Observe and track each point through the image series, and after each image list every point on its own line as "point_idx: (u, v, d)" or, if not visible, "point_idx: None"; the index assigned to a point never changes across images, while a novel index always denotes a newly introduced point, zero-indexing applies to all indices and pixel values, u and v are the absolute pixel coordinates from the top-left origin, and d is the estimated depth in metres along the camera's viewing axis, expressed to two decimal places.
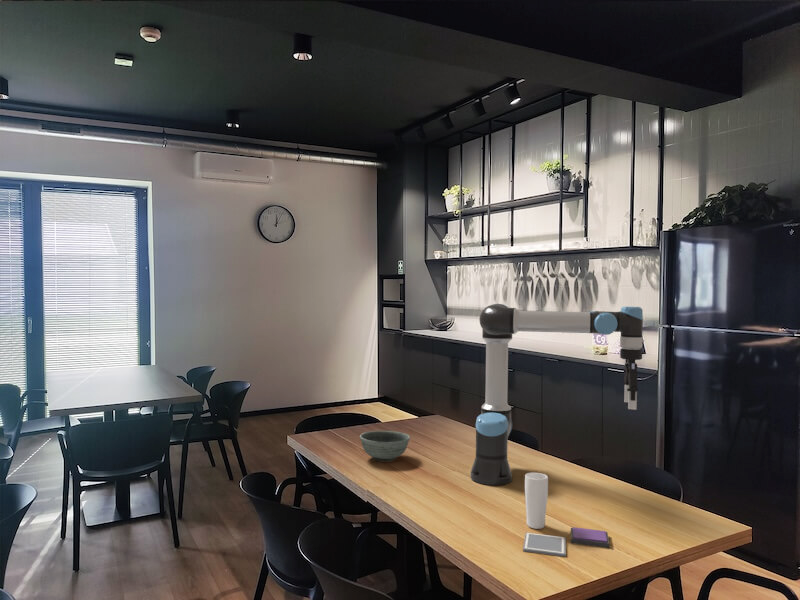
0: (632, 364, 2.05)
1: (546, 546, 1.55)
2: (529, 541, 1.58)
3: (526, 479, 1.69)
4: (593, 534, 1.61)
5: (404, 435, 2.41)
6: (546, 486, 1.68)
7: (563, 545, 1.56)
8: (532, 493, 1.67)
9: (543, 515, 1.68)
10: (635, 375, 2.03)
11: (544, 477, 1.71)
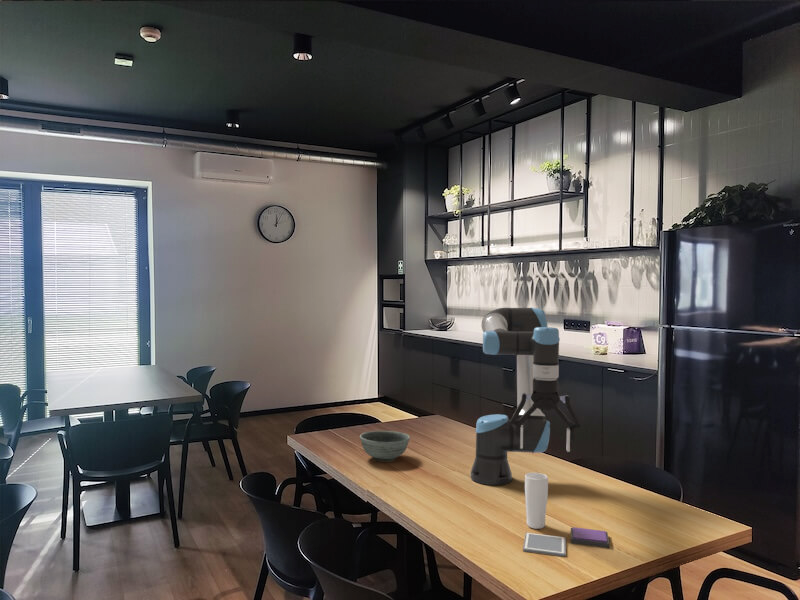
0: (522, 394, 1.74)
1: (546, 546, 1.55)
2: (529, 541, 1.58)
3: (526, 479, 1.69)
4: (593, 534, 1.61)
5: (404, 435, 2.41)
6: (546, 486, 1.68)
7: (563, 545, 1.56)
8: (532, 493, 1.67)
9: (543, 515, 1.68)
10: (518, 407, 1.73)
11: (544, 477, 1.71)
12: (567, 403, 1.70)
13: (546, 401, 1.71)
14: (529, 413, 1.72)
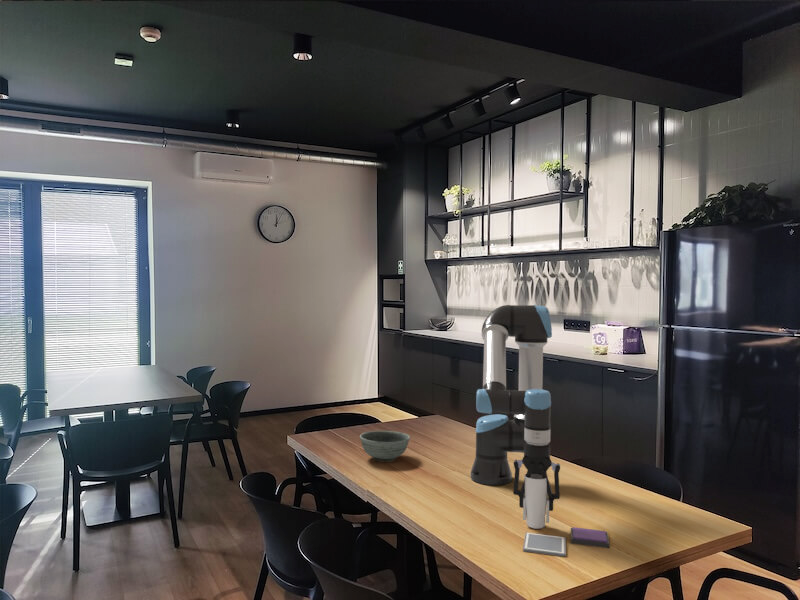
0: (514, 462, 1.72)
1: (546, 546, 1.55)
2: (529, 541, 1.58)
3: (525, 479, 1.69)
4: (593, 534, 1.61)
5: (404, 435, 2.41)
6: (545, 486, 1.68)
7: (563, 545, 1.56)
8: (532, 493, 1.67)
9: (543, 514, 1.68)
10: None
11: None
12: (556, 472, 1.67)
13: (537, 464, 1.69)
14: None
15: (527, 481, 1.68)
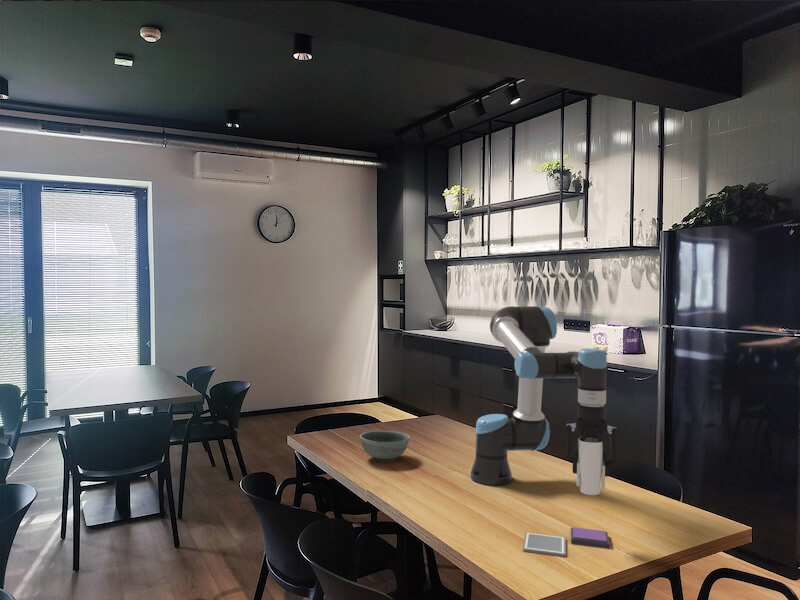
0: None
1: (546, 546, 1.55)
2: (529, 541, 1.58)
3: (580, 443, 1.60)
4: (593, 534, 1.61)
5: (404, 435, 2.41)
6: (601, 450, 1.58)
7: (563, 545, 1.56)
8: (587, 457, 1.58)
9: (599, 480, 1.59)
10: (567, 440, 1.62)
11: None
12: (612, 435, 1.58)
13: (592, 427, 1.60)
14: None
15: (582, 445, 1.59)
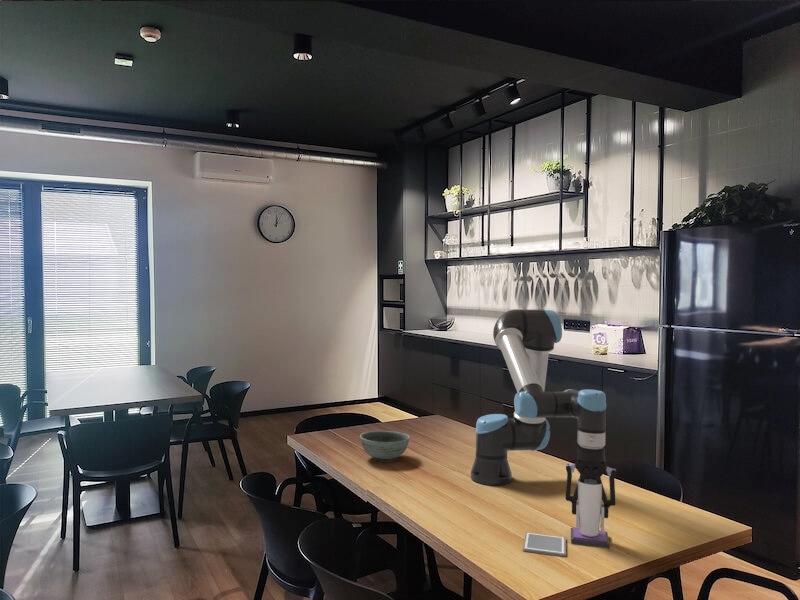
0: (566, 466, 1.63)
1: (546, 546, 1.55)
2: (529, 541, 1.58)
3: (579, 484, 1.60)
4: None
5: (404, 435, 2.41)
6: (601, 492, 1.59)
7: (563, 545, 1.56)
8: (586, 499, 1.58)
9: (598, 522, 1.59)
10: None
11: None
12: (612, 477, 1.58)
13: (591, 469, 1.60)
14: None
15: (581, 486, 1.59)
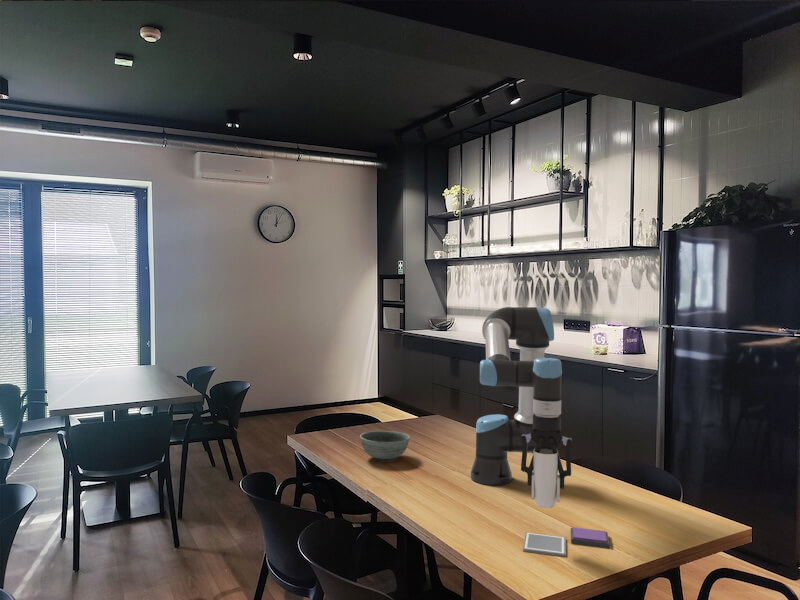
0: (521, 436, 1.59)
1: (546, 546, 1.55)
2: (529, 541, 1.58)
3: (534, 454, 1.56)
4: (593, 534, 1.61)
5: (404, 435, 2.41)
6: (556, 462, 1.54)
7: (563, 545, 1.56)
8: (541, 469, 1.54)
9: (553, 493, 1.55)
10: (522, 451, 1.58)
11: None
12: (567, 447, 1.54)
13: (547, 438, 1.56)
14: None
15: (536, 456, 1.55)
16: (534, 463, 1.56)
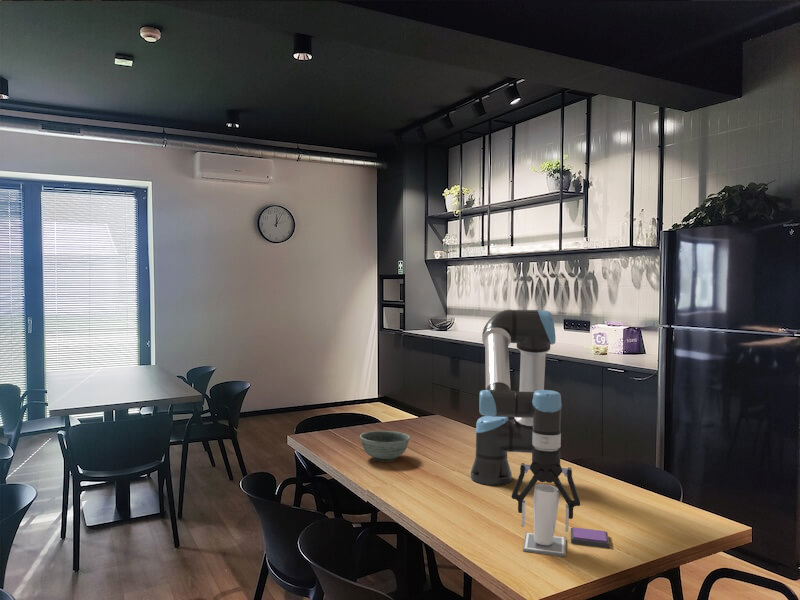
0: (521, 465, 1.59)
1: (546, 546, 1.55)
2: (529, 541, 1.58)
3: (535, 491, 1.57)
4: (593, 534, 1.61)
5: (404, 435, 2.41)
6: (557, 500, 1.55)
7: (563, 545, 1.56)
8: (541, 506, 1.55)
9: (552, 530, 1.55)
10: (517, 480, 1.58)
11: (555, 490, 1.59)
12: (569, 477, 1.54)
13: (546, 472, 1.56)
14: (530, 487, 1.57)
15: (537, 493, 1.56)
16: (534, 500, 1.57)
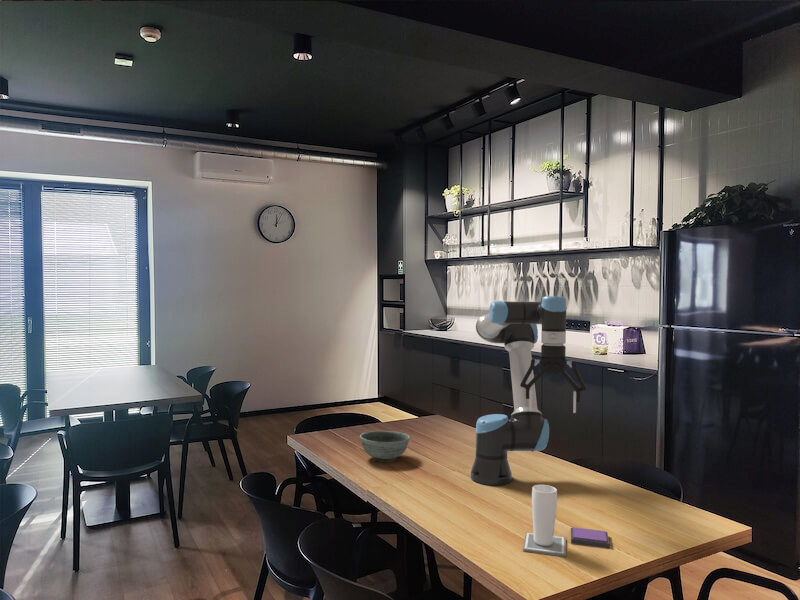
0: (531, 359, 1.85)
1: (546, 546, 1.55)
2: (529, 541, 1.58)
3: (533, 492, 1.56)
4: (593, 534, 1.61)
5: (404, 435, 2.41)
6: (555, 500, 1.55)
7: (563, 545, 1.56)
8: (540, 507, 1.54)
9: (552, 531, 1.55)
10: (527, 371, 1.84)
11: (553, 490, 1.58)
12: (573, 367, 1.80)
13: (554, 365, 1.82)
14: (537, 377, 1.83)
15: (535, 494, 1.56)
16: (533, 500, 1.57)
